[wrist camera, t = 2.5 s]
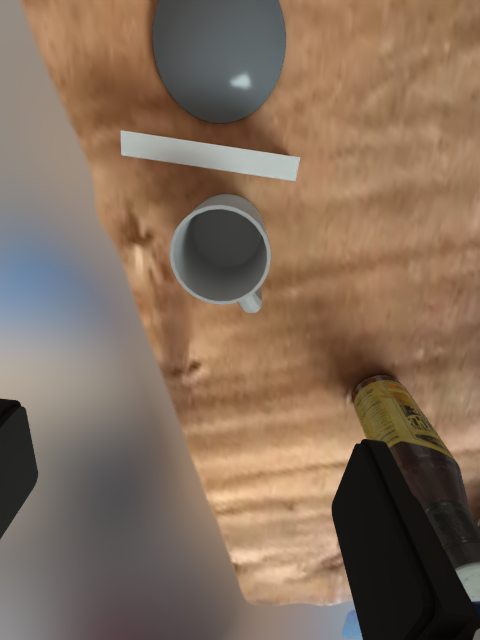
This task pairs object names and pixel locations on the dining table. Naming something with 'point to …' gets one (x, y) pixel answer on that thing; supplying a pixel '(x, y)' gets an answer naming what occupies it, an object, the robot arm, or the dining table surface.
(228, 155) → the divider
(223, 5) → the coaster
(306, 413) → the dining table surface
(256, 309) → the cup
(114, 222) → the dining table surface
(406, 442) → the sauce bottle
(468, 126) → the dining table surface
